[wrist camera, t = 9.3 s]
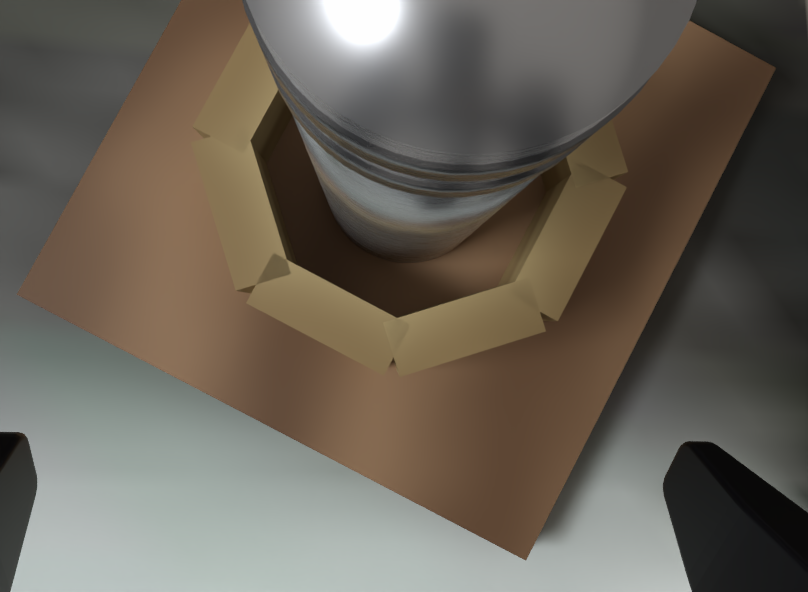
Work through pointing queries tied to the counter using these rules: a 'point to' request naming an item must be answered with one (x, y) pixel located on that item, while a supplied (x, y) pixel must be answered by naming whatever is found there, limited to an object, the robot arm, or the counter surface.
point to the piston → (451, 100)
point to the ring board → (388, 273)
